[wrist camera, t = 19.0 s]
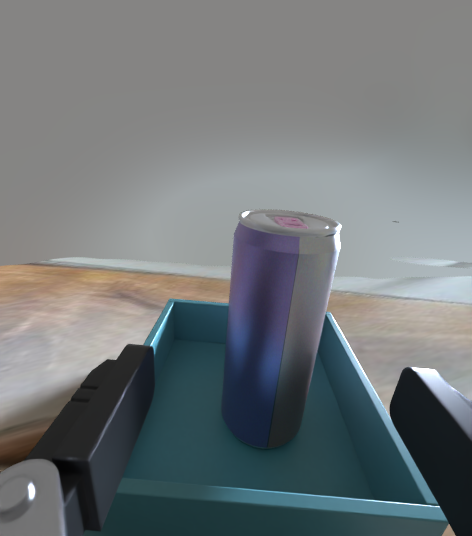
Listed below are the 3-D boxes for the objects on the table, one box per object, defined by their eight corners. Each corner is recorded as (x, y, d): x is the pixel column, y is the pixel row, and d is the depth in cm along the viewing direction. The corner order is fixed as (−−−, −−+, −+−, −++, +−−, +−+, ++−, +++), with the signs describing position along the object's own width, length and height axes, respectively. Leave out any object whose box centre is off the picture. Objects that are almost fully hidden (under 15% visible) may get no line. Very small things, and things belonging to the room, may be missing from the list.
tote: (413, 585, 13) (450, 522, 11) (76, 554, 13) (60, 487, 11) (320, 352, 29) (330, 311, 27) (170, 339, 29) (169, 298, 27)
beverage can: (219, 453, 18) (237, 225, 12) (221, 384, 23) (234, 206, 18) (310, 456, 18) (365, 234, 13) (290, 386, 23) (323, 212, 18)
